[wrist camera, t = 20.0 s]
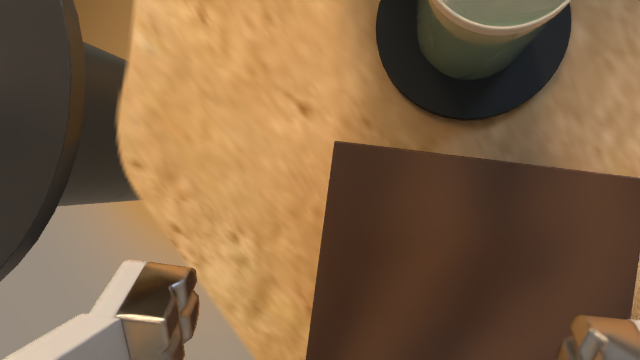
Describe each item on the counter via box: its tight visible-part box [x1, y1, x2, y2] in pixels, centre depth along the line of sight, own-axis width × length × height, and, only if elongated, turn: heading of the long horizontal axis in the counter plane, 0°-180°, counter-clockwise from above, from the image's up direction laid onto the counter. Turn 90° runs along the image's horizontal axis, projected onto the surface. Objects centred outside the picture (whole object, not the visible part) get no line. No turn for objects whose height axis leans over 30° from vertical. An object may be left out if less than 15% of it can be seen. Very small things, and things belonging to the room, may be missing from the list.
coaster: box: [376, 0, 571, 120], centre depth 29 cm, size 11×11×1 cm
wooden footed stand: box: [306, 141, 640, 360], centre depth 27 cm, size 14×12×6 cm
